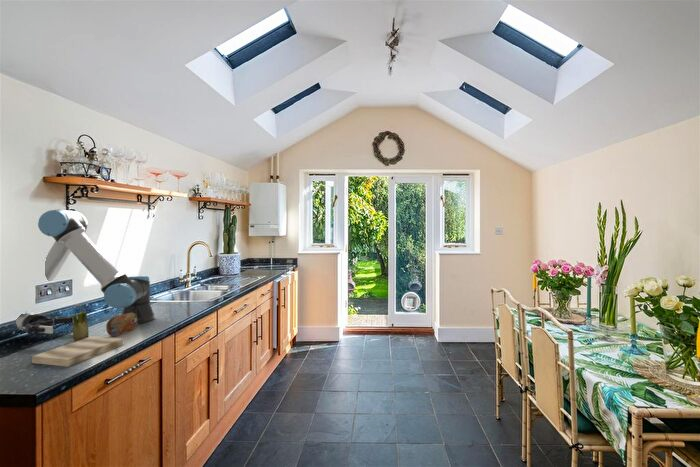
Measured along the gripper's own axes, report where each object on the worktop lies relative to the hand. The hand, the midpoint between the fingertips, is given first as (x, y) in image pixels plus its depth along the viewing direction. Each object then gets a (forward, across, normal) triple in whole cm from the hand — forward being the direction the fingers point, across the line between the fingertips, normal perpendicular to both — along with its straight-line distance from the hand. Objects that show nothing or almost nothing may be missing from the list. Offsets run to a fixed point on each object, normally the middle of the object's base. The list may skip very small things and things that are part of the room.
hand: (69, 325), depth 145 cm
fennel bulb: (+5, 0, -7) cm, 8 cm away
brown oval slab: (+14, -13, -7) cm, 20 cm away
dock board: (+20, +11, -6) cm, 24 cm away
